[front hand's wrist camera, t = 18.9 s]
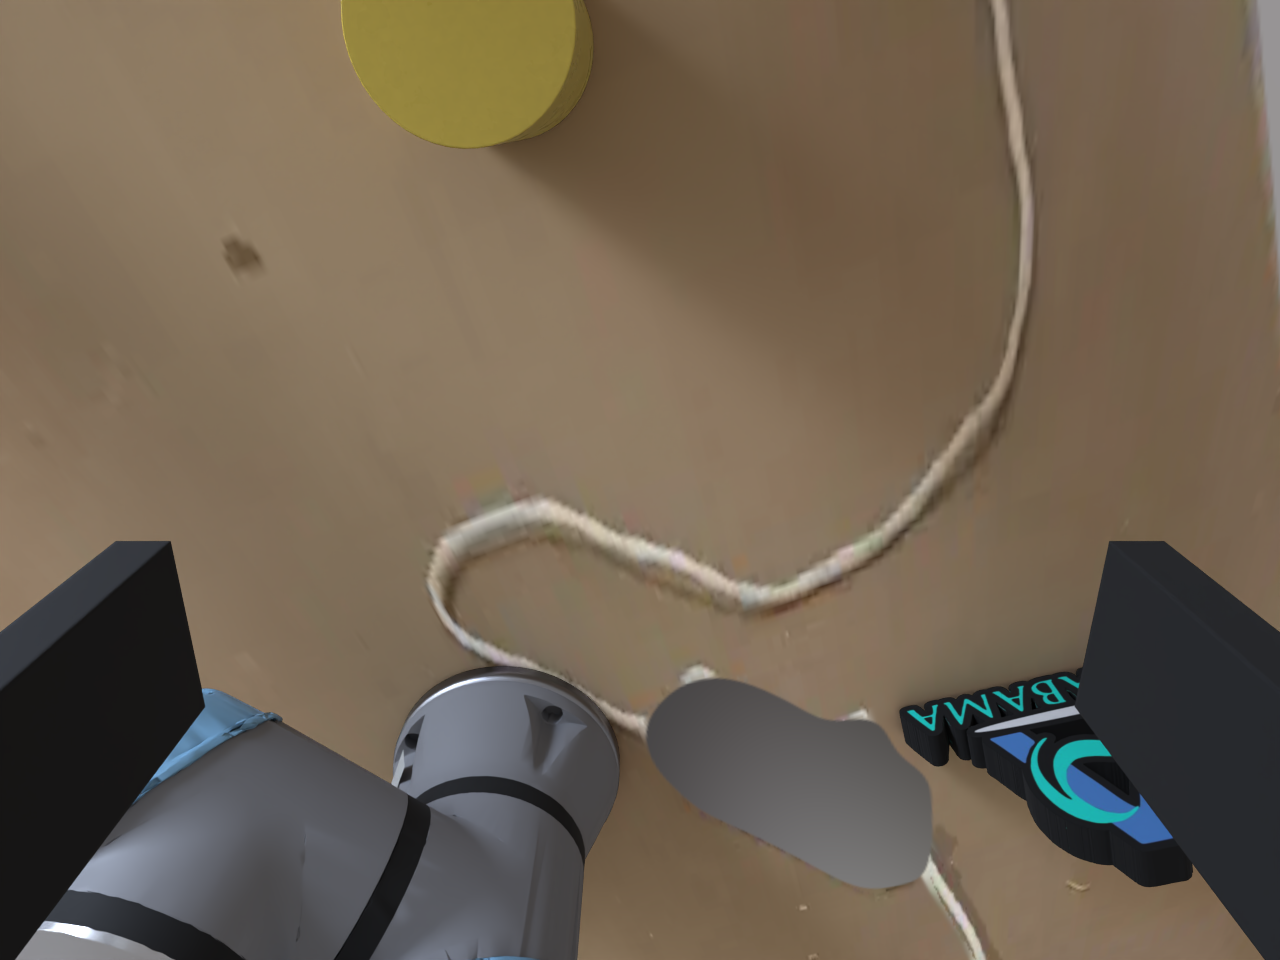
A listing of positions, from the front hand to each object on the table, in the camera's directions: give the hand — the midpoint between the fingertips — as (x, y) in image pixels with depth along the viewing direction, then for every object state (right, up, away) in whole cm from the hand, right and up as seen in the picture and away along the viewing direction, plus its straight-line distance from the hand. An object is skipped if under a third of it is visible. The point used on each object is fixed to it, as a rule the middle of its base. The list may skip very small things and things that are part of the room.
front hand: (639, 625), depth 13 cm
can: (-7, +24, +33) cm, 41 cm away
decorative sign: (+27, -12, +47) cm, 55 cm away
